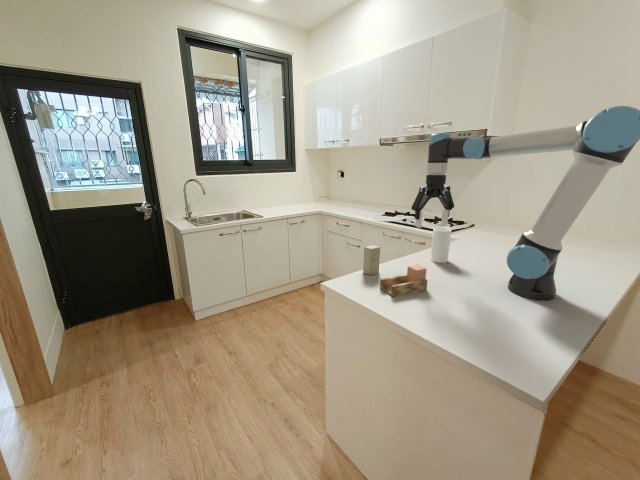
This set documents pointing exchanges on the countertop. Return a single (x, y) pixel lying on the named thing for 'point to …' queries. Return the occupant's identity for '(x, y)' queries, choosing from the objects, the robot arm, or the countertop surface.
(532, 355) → the countertop surface
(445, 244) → the cup
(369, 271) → the skincare box
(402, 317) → the countertop surface
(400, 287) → the chute
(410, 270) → the block
